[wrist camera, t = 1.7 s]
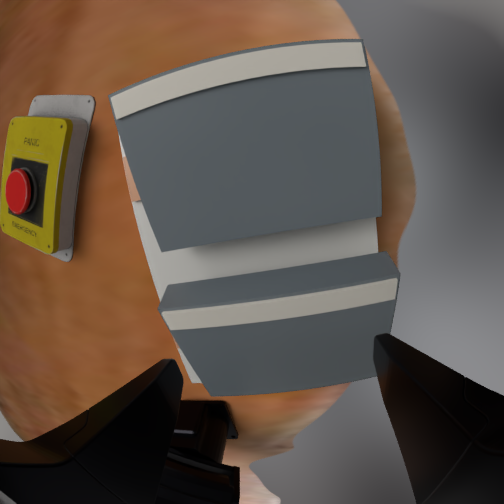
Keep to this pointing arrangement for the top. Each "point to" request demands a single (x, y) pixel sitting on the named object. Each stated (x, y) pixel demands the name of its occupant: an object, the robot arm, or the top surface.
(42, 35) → the top surface
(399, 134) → the top surface
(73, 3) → the top surface
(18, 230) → the emergency button
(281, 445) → the top surface
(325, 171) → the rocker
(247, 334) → the block
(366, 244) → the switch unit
